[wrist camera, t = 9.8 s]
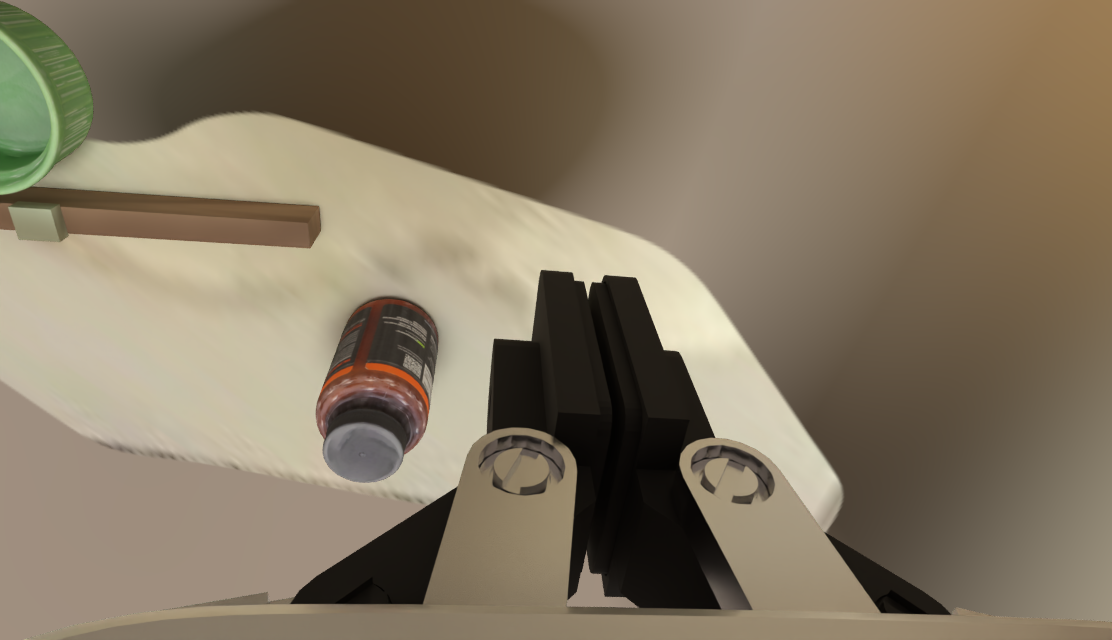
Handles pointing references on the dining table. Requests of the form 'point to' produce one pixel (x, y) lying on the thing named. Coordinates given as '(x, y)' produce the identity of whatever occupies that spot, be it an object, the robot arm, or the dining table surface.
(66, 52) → the ramekin
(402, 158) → the dining table surface
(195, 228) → the walnut track
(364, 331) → the supplement bottle
